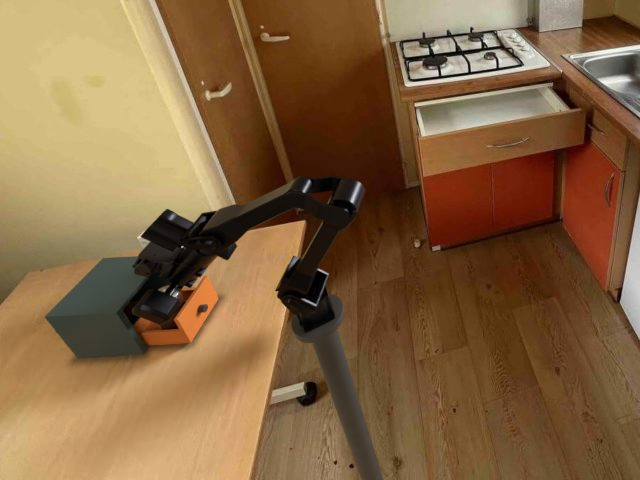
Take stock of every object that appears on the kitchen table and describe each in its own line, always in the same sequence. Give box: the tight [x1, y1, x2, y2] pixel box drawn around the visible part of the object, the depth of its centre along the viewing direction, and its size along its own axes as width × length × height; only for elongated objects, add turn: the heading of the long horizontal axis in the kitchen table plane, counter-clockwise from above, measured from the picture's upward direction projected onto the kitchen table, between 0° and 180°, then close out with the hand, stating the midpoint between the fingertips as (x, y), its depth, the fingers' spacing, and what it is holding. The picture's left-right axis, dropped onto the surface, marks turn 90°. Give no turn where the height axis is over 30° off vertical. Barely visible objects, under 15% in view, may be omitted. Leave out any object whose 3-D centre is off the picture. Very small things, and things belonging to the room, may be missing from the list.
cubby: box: [44, 255, 184, 360], centre depth 89 cm, size 13×14×13 cm
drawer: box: [132, 275, 219, 347], centre depth 91 cm, size 13×11×8 cm
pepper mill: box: [158, 285, 185, 330], centre depth 89 cm, size 5×5×10 cm
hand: (161, 295), depth 89 cm, fingers open, 7 cm apart
